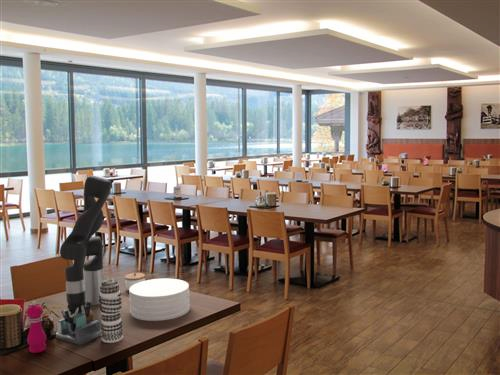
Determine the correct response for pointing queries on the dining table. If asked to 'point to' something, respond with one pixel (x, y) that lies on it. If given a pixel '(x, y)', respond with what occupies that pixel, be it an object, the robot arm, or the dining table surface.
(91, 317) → the bread roll
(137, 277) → the lidded jar
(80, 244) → the robot arm
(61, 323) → the bar
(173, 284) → the plate stack
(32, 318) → the pepper mill
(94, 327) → the vise
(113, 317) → the white patterned cylinder
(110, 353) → the dining table surface
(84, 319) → the teal block
